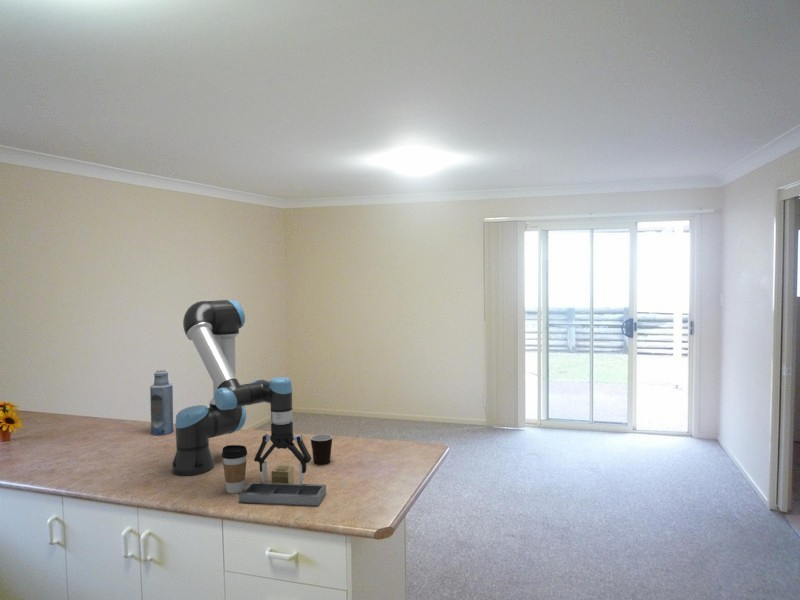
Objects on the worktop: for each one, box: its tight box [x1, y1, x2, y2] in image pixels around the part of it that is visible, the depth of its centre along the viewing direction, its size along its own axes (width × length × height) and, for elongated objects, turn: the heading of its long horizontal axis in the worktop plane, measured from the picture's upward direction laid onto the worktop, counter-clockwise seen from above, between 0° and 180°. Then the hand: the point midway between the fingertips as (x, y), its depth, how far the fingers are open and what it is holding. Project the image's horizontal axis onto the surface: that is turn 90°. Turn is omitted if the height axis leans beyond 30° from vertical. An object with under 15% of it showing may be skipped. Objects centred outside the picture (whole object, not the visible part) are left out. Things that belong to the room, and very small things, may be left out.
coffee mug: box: [310, 433, 333, 466], centre depth 211 cm, size 12×9×10 cm
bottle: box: [149, 369, 174, 436], centre depth 251 cm, size 10×10×30 cm
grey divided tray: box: [238, 481, 327, 507], centre depth 176 cm, size 26×10×3 cm, turn 83°
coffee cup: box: [221, 444, 248, 494], centre depth 183 cm, size 8×8×15 cm
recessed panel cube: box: [271, 464, 295, 484], centre depth 187 cm, size 6×6×6 cm
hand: (283, 481), depth 187 cm, fingers open, 13 cm apart
